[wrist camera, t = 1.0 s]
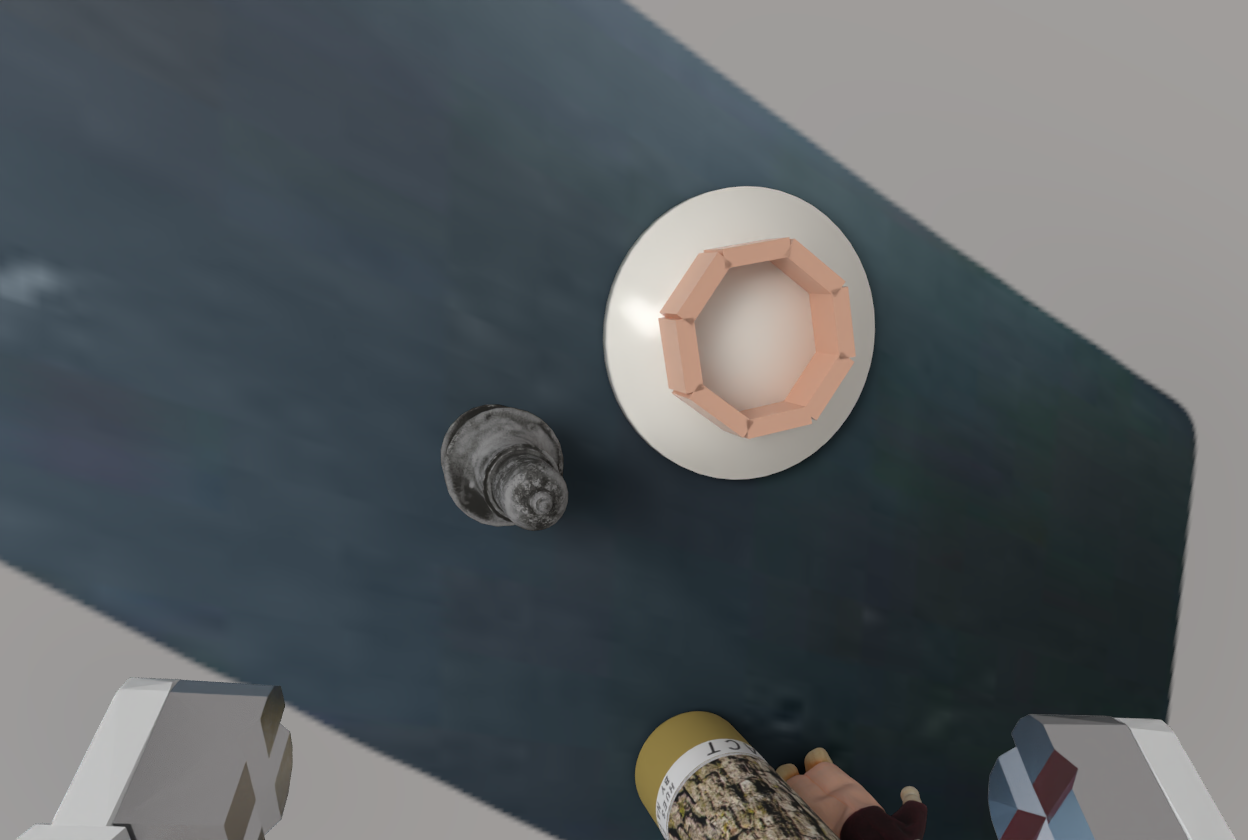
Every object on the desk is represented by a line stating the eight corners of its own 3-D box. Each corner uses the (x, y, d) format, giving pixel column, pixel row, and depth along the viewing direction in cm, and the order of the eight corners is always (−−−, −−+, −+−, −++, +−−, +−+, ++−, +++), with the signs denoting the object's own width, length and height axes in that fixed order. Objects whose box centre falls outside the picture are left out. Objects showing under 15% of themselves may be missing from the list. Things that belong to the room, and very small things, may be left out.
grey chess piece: (553, 405, 50) (625, 442, 39) (538, 513, 51) (604, 581, 40) (442, 392, 48) (483, 427, 37) (427, 505, 49) (464, 574, 38)
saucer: (545, 374, 50) (562, 381, 47) (712, 126, 51) (740, 115, 48) (765, 527, 55) (795, 543, 52) (913, 299, 56) (950, 301, 53)
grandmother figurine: (770, 831, 59) (888, 974, 47) (746, 784, 58) (861, 916, 46) (870, 762, 60) (1009, 883, 48) (848, 715, 59) (985, 826, 47)
